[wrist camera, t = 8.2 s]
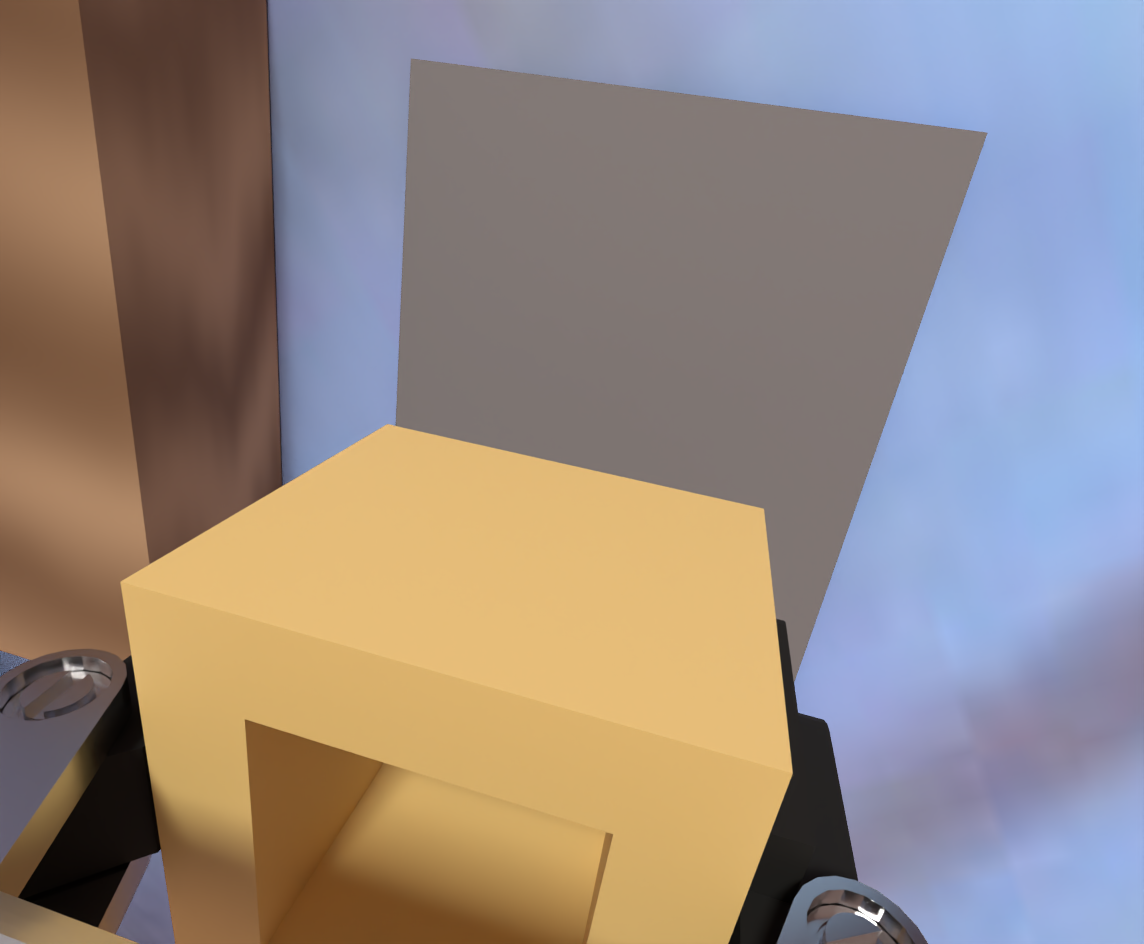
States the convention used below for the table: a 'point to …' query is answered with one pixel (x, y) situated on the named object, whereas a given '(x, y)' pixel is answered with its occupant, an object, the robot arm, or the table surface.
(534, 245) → the mat
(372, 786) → the collar
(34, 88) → the stand
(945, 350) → the table surface
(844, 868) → the robot arm
